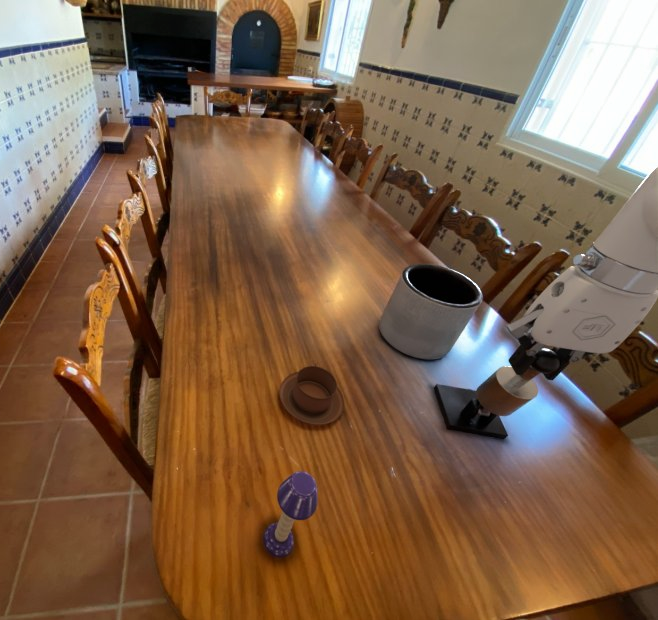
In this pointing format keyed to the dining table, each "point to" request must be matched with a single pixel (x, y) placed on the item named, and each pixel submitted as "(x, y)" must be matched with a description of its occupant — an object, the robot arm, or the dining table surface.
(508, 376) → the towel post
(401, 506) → the dining table surface
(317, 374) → the cup and saucer
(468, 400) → the dark grey lever base
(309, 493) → the toy lamp
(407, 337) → the planter
